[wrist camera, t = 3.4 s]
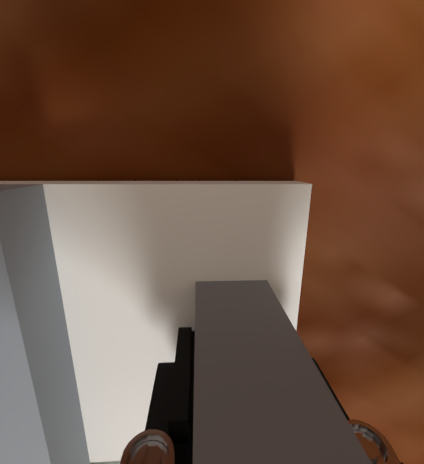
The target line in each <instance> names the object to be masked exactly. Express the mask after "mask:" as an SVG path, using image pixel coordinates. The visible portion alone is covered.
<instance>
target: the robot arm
mask: <svg viewBox="0 0 424 464" xmlns="http://www.w3.org/2000/svg"><path fill="white" fill-rule="evenodd" d="M194 353H195V331H192V327H179V329H178V337H177V346H176V355H175V362H164V363H158V366H157V371H156V376H155V381H154V386H153V391H152V396H151V401H150V406H149V412H148V417H147V422H146V427H145V431H143V432H141V433H139V434H138V435H136V436H134V438H133V439H132V440H131V441H130V442H129V443H128V444H127V446H126V447H125V449H124V451H123V454H122V457H121V461H120V464H193V411H194ZM311 358H312V357H311ZM312 360H313V361H314V363H315V365H316V367H317V368H318V370H319V372H320V374H321V375H322V377H323V379H324V381H325V382H326V384H327V386H328V388H329V389H330V391H331V393H332V395H333V396H334V398H335V400H336V402H337V403H338V405H339V407H340V409H341V410H342V412H343V414H344V415H345V417H346V419H347V421H348V422H349V424H350V426H351V428H352V429H353V431H354V433H355V435H356V436H357V438H358V440H359V442H360V443H361V445H362V447H363V449H364V450H365V452H366V454H367V456H368V457H369V459H370V461H371V463H372V464H403V463H401V462H400V460H399V459H398V457H397V455H396V453H395V452H394V450H393V448H392V446H391V445H390V443H389V442H388V441H387V439H386V438H385V437H384V436H383V435H382V434H381V433H380V432H379V431H378V430H377V429H375V428H374V427H372V426H371V425H369V424H367V423H365V422H362V421H359V420H354V419H352V420H350V419H349V417H348V416H347V414H346V412H345V410H344V409H343V407H342V405H341V404H340V402H339V400H338V398H337V397H336V395H335V393H334V392H333V390H332V388H331V386H330V385H329V383H328V381H327V380H326V378H325V376H324V374H323V373H322V371H321V369H320V368H319V366H318V364H317V362H316V361H315V360H314V358H312Z"/></svg>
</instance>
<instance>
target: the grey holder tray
mask: <svg viewBox="0 0 424 464" xmlns="http://www.w3.org/2000/svg"><path fill="white" fill-rule="evenodd" d="M311 188H312V184H309V183H305V182H300V181H0V464H90V462H107V461H121V457H122V454H123V451H124V449H125V447H126V446H127V444H128V443H129V442H130V441H131V440H132V439H133V438H134V436H136V435H138V434H139V433H141V432H143V431H145V427H146V422H147V417H148V412H149V406H150V401H151V396H152V391H153V386H154V381H155V376H156V371H157V366H158V363H164V362H175V355H176V346H177V337H178V329H179V327H192V331H195V353H194V411H193V464H372V463H371V461H370V459H369V457H368V456H367V454H366V452H365V450H364V449H363V447H362V445H361V443H360V442H359V440H358V438H357V436H356V435H355V433H354V431H353V429H352V428H351V426H350V424H349V422H348V421H347V419H346V417H345V415H344V414H343V412H342V410H341V409H340V407H339V405H338V403H337V402H336V400H335V398H334V396H333V395H332V393H331V391H330V389H329V388H328V386H327V384H326V382H325V381H324V379H323V377H322V375H321V374H320V372H319V370H318V368H317V367H316V365H315V363H314V361H313V360H312V358H311V356H310V354H309V353H308V351H307V349H306V347H305V346H304V344H303V342H302V340H301V339H300V337H299V335H298V333H297V332H296V328H297V319H298V309H299V300H300V291H301V281H302V272H303V263H304V253H305V244H306V235H307V225H308V216H309V207H310V197H311Z"/></svg>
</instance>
